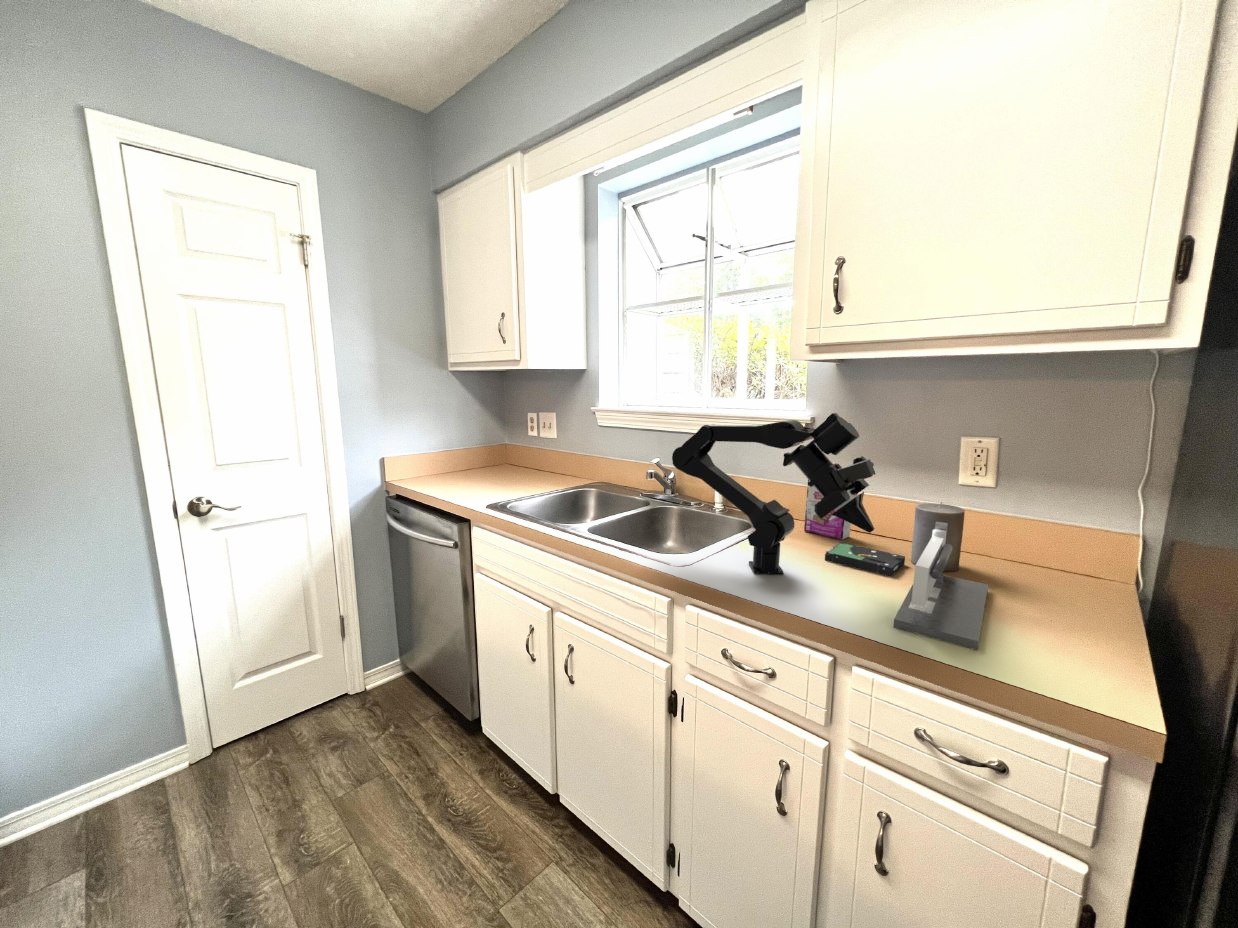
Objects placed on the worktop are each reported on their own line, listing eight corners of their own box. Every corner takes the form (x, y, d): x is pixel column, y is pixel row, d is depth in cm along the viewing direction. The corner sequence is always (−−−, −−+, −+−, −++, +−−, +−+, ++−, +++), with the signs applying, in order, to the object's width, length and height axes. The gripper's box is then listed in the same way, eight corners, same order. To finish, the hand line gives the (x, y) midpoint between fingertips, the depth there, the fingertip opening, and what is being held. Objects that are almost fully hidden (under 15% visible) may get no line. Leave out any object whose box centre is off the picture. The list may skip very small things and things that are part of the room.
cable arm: (928, 569, 106) (933, 528, 104) (950, 573, 103) (955, 531, 102) (909, 608, 87) (914, 559, 86) (935, 615, 85) (941, 564, 84)
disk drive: (904, 567, 117) (839, 551, 127) (905, 555, 117) (840, 540, 127) (891, 579, 110) (823, 562, 120) (893, 567, 109) (824, 550, 119)
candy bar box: (803, 531, 142) (807, 474, 139) (811, 528, 145) (815, 472, 143) (842, 540, 134) (847, 480, 131) (850, 537, 137) (855, 478, 135)
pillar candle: (963, 564, 117) (970, 502, 115) (952, 575, 110) (960, 509, 108) (916, 554, 124) (922, 495, 122) (904, 564, 117) (909, 502, 115)
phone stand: (893, 626, 87) (900, 555, 85) (919, 576, 110) (925, 519, 107) (977, 650, 80) (987, 572, 78) (987, 591, 102) (995, 529, 100)
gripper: (836, 449, 92) (898, 517, 87) (861, 440, 106) (916, 498, 101) (791, 485, 98) (846, 551, 93) (820, 472, 112) (870, 528, 107)
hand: (872, 531), depth 99 cm, fingers closed
